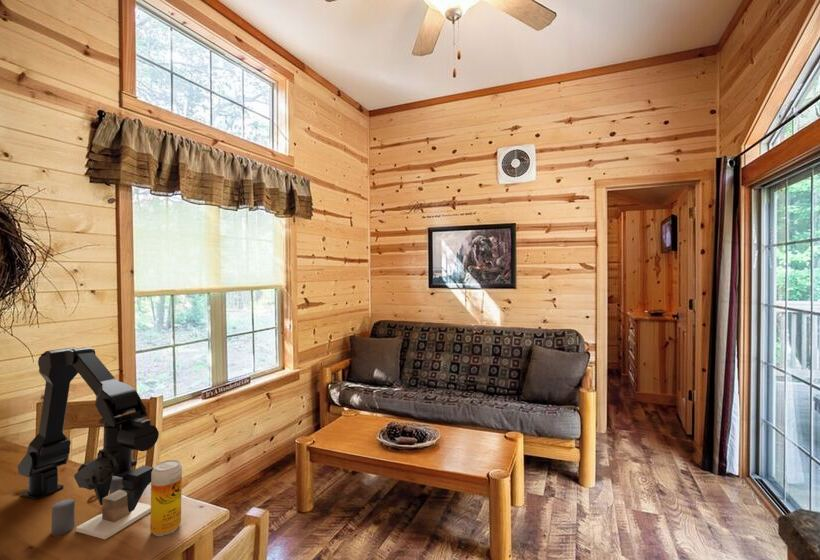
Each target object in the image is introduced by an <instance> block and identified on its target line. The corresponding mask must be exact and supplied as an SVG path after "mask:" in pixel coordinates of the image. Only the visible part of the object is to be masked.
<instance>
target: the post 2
mask: <svg viewBox="0 0 820 560" xmlns="http://www.w3.org/2000/svg"><path fill="white" fill-rule="evenodd" d="M122 479H123V478H122V477H117V476H113V477H112V481H111V485H110V490H109V494H108V495H110V494H112V493H114V492H116V491H118V490H122V488H124V486H123V485H122Z"/></svg>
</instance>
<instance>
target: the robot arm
mask: <svg viewBox="0 0 820 560" xmlns="http://www.w3.org/2000/svg"><path fill="white" fill-rule="evenodd" d="M37 365H38V368H39V369H38V373H39V374H40V375H41V377H42V378H43V379H44V381H45V387H44V393H43V398H42V399H43V401H42V407H41V415H40V421H39V427H38V428H39V429H38V433H37V435H36V436H35V437H34V438H33V439H32V440H31V441H30V443H29V444H28V446H27V447H28V448H27V451H26V454H25V455H24V457H23V458H22V459H21V461H20V462H19V463H18V465H17V472H18V474H19V475H21V476H23V477H26V478H27V490H26V491H23V492H21V493H20V496H21V497H26V498H29V499H34V500H39V499H41V498H43V497H45V496H47V495H50V494H52V493H55V492H58V491H59V490H62V489H63V488H65V486H64V485H63V484H59V467H60V466H65V465H66V464H67V462H68V459H69V456H70V451H71V447H70V446H71V445H72V444H71V442H72V441H71V440H70V439H68V437H67V436H66V435H65V434H64V427H65V421H66V420H65V419H66V413H67V407H68V399H69V395H70V394H69V392H70V385H71V382H72V380H73V379H74V378H75V377H76V376H77V375H80V377H81V378H82V379H83V381H84V382H85V383H86V384H87V386H88V387H89V388H90V390H92V392H93V393H94V395H95V402H94V405H95V408H96V410H97V411H98V413H99V415H100V416H101V417H102V418H100V420H98V423H99V424H100V425H101V424H102V425H103V441H102V442H103V444H102V445H103V447H102V449H98V452H97V453H96V458H94V459H91V460H89V461H87V462H84V463H82V464H81V465H80V466H79V467H78V468H77V472H75V474H74V475H73V477H74V479H75V482H76V484H77V486H78V488H80V489H82V488H83V489H86V490H89V491H90V490H91V491H92V490H94V492H95V495H96V498H97V501H98V502H99V506H102V498H104V497H106V496H108V495H109V493H110V485H111V481H112V477H113V476H117V477H122V478H123V479H122V485H123V486H124V488H122V490H123V491H125V492H127V502H128V511H129V512H132V511H133V510H134V509H135V507H136V505H137V503H138V502H139V501H140V499H141V497H142V495H143V493H144V492H145V490H146V489H147V488H148V485H149V484H151V473H152V471H153V469H154V466H148V465H141V466H140V467H137V468H135V469H132V468H133V467H135V466H137V464H138V463H137V462H138V461H137V460H136V459H133V451H138V452H146V451H149V450H150V449H152V448H153V447H154V445H155V444H156V443H157V441H158V439H159V436H160V432H159V430H158V428H157V427H156V425H152V424H151V422H152V421H151V420H150V419H148V418H146V417H148V413H147V411H146V410H147V408H146V406H145V404H144V402H143V401H142V398H141V397H140V394H139V393H138V392H137V390H136V389H135V388H133V387H132V386H131V385H130V384H128V383H126V382H123V381H119V380H117V378H115V376H114V375H113V374H112V372H111V371H110V370H109V369H108V368H107V367H106V366H105V364H104V363H103V362H102V361H101V359H99V357H98V355H96V351H95V349H94V348H93V347H89V346H86V347H78V348H76V347H75V346H74V347H66V348H57V349H51V350H45V351H44V352H43V353H41V354H40V356H39V358H38V360H37ZM145 418H146V419H145Z"/></svg>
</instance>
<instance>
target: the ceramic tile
mask: <svg viewBox="0 0 820 560" xmlns="http://www.w3.org/2000/svg"><path fill="white" fill-rule="evenodd" d="M149 513H150V514H151V504H148V503H144V502H143V503H142V502H139V501H138V503H137V505H136V507H135V509H134V510H133V511H132V512H131V513H130V514H128V515H127V516H125V517H123V518H121V519H120V520H118V521H116V522H111V521H107V520H103V519H102V512H101V513H100V514H98V515H96V516H94V517H92V518H91V519H89V520H87V521H85V522H83V523H81V524H79V525H78V526H76V527H75V528H76V529H75V532H77V533H81V534H84V535H87V536H91V537H95V538H99V539H102V540H106V539H108V538H111V537H112V536H113V535H115V534H116V533H118V532H120V531H122V530H124V529H125V528H126V527H128V526H130V525H132V524H133V523H135V522H136V521H138V520H139V519H141V518H143V517H145V516H146V515H148V514H149Z"/></svg>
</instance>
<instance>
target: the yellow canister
mask: <svg viewBox="0 0 820 560" xmlns="http://www.w3.org/2000/svg"><path fill="white" fill-rule="evenodd" d="M153 467H154V469H153V471H152V473H151V483H150V484H151V485H150V505H151V512H150V519H149V520H150V521H149V522H150V523H149V525H150V527H149V528H150V530H149V531H150V533H151V534H153V535H154V536H155V535H156V537H163V536H164V535H165V536H167V535H171V534H172V533H174V532H176V531H177V529H179V526H180V525H181V523H182V492H183V491H182V489H183V488H182V487H183V486H182V483H183V481H182V479H183V466H182V464H181V461H179V460H177V459H169V460H164V461H161V462H159V463H155V465H154V466H153Z"/></svg>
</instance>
